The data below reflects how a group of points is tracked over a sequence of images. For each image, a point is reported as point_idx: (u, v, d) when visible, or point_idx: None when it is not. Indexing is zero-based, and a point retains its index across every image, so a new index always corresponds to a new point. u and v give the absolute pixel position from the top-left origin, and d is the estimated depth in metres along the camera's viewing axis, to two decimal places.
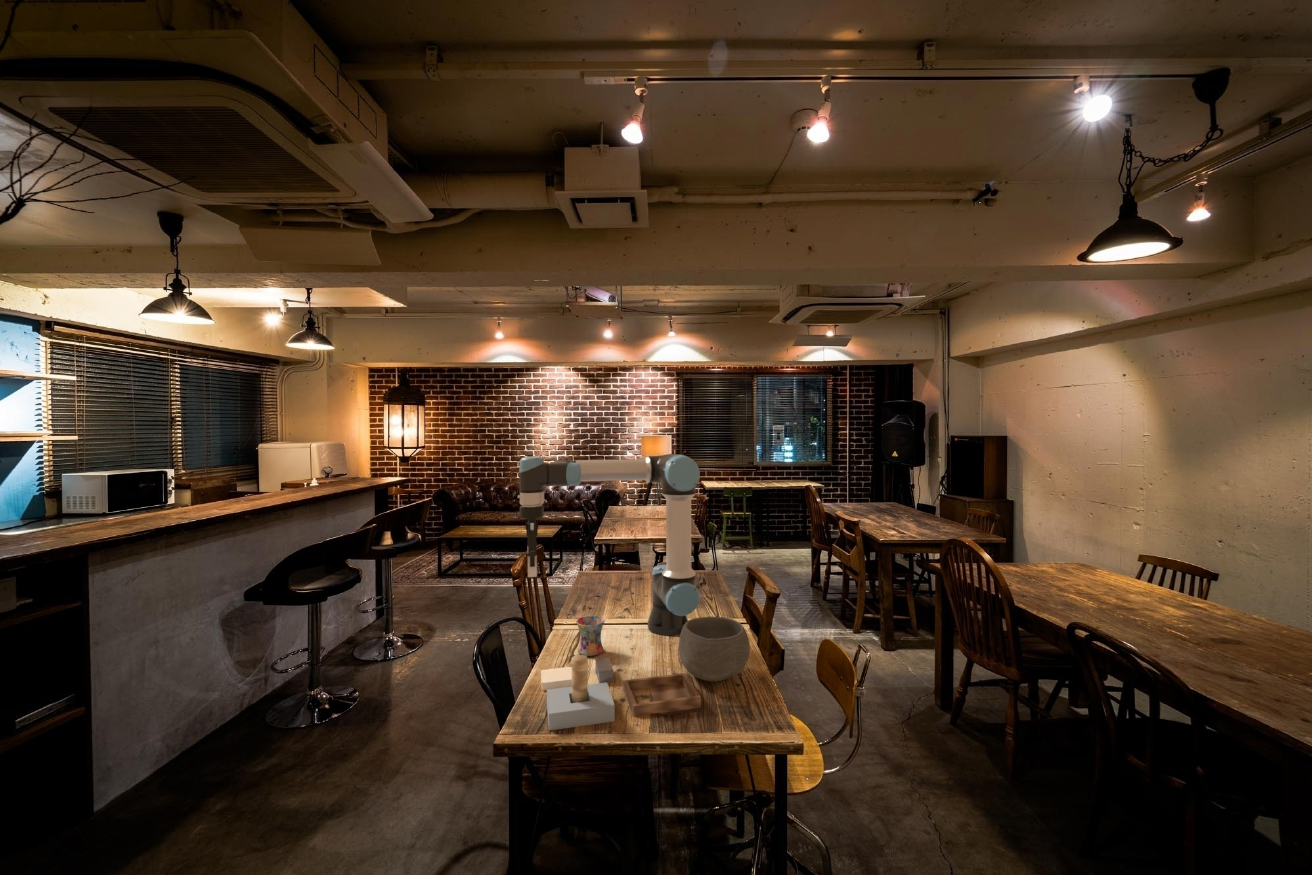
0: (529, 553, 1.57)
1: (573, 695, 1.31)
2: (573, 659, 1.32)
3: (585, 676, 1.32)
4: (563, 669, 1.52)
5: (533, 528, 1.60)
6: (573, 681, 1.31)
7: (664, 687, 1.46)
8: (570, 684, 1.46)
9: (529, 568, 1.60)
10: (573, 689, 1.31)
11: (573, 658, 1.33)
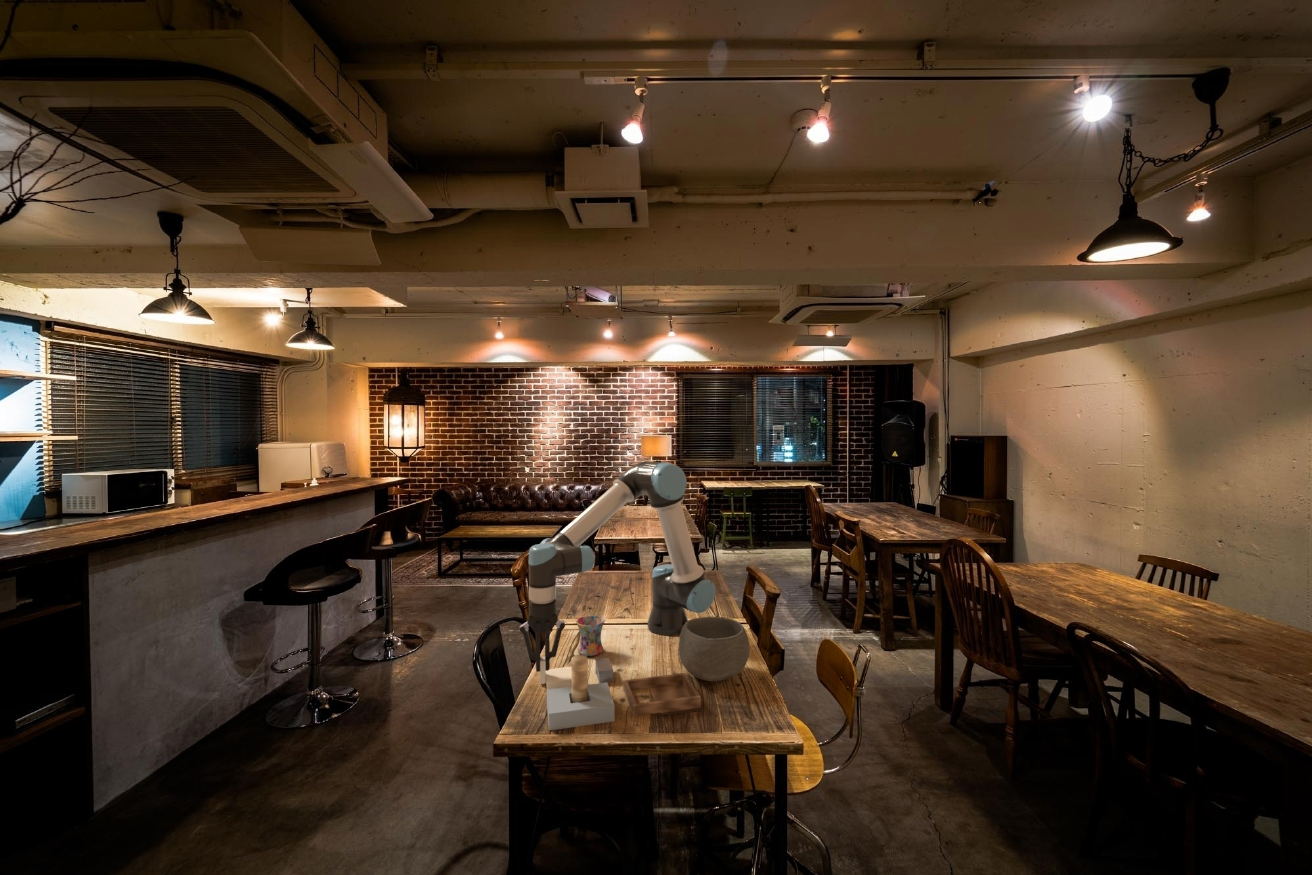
0: None
1: (573, 695, 1.31)
2: (573, 659, 1.32)
3: (585, 676, 1.32)
4: (567, 668, 1.53)
5: None
6: (573, 681, 1.31)
7: (664, 687, 1.46)
8: None
9: None
10: (573, 689, 1.31)
11: (573, 658, 1.33)
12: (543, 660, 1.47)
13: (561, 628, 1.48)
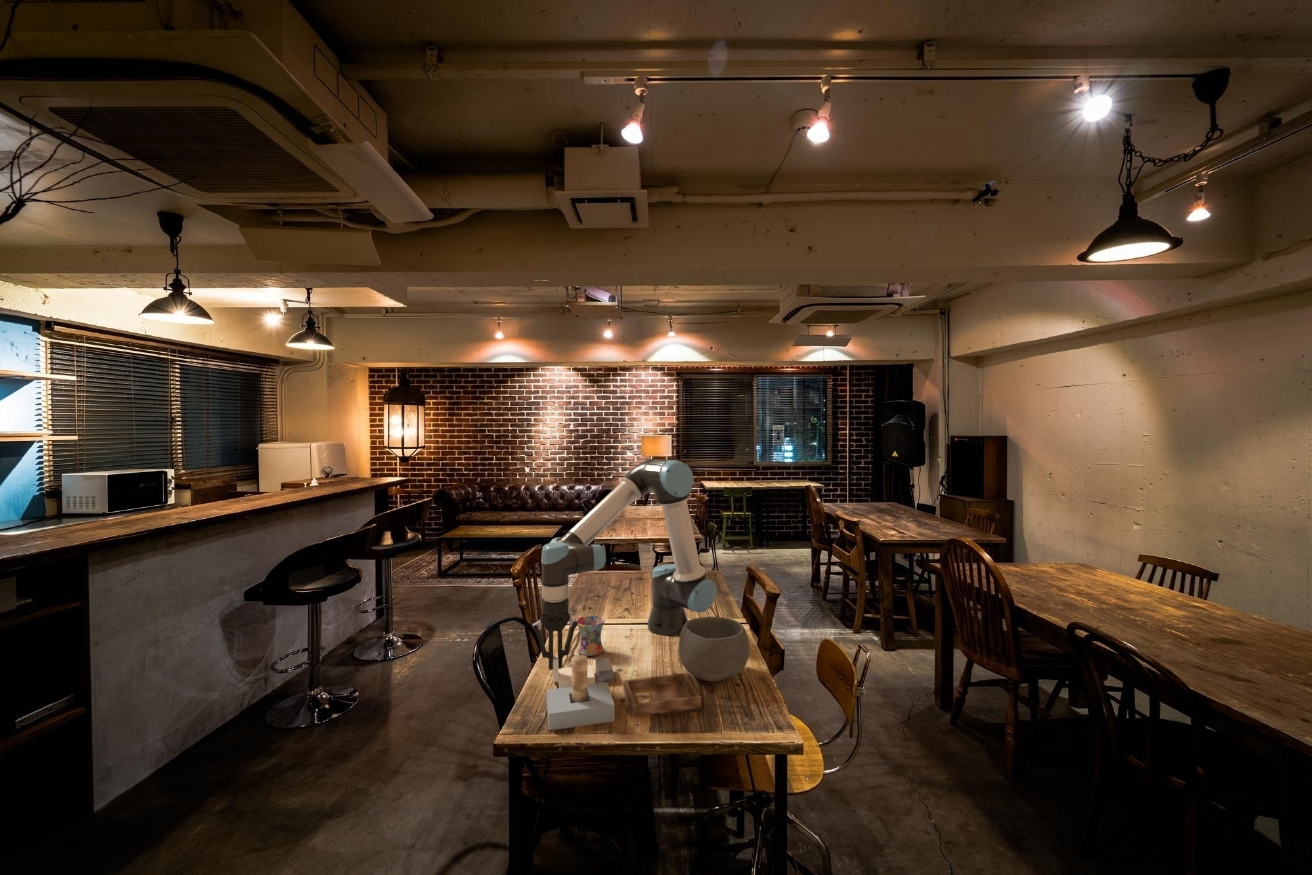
0: None
1: (573, 695, 1.31)
2: (573, 659, 1.32)
3: (585, 676, 1.32)
4: None
5: None
6: (573, 681, 1.31)
7: (664, 687, 1.46)
8: None
9: None
10: (573, 689, 1.31)
11: (573, 658, 1.33)
12: (556, 658, 1.48)
13: (574, 626, 1.49)
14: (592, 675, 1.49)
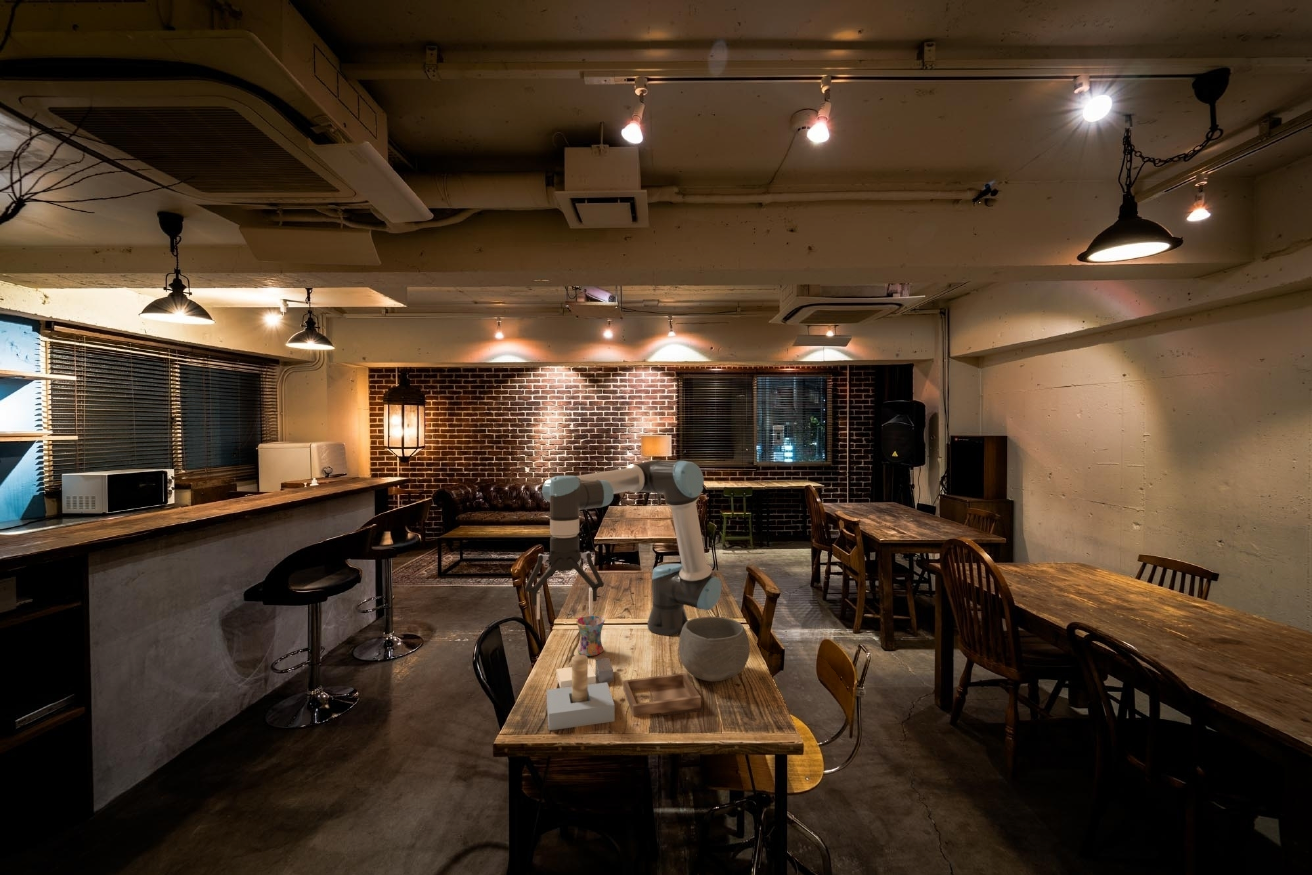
0: (525, 586, 1.35)
1: (573, 695, 1.31)
2: (573, 659, 1.32)
3: (585, 676, 1.32)
4: None
5: None
6: (573, 681, 1.31)
7: (664, 687, 1.46)
8: (588, 682, 1.48)
9: None
10: (574, 689, 1.31)
11: (573, 658, 1.33)
12: (590, 590, 1.37)
13: (589, 558, 1.37)
14: (593, 674, 1.49)
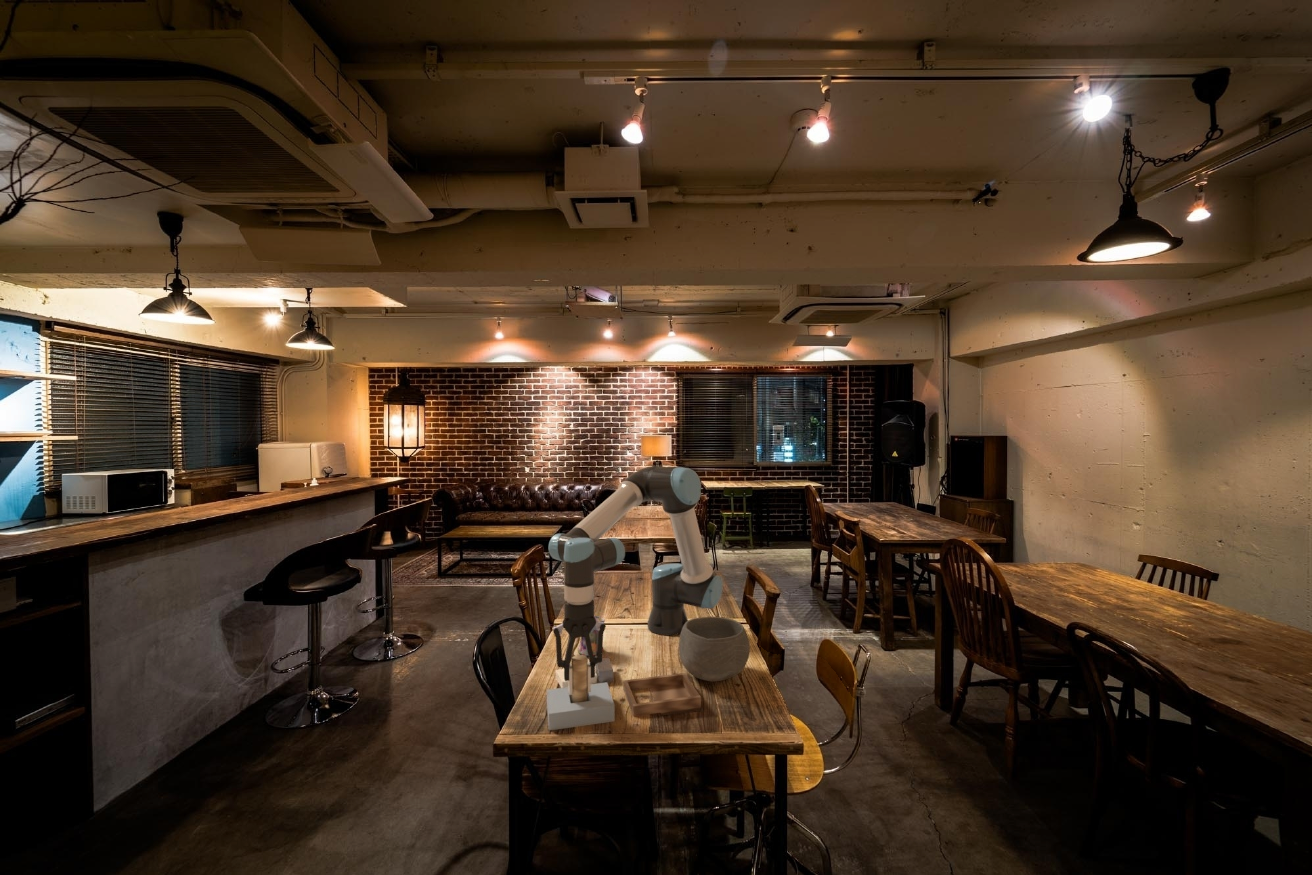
0: None
1: (573, 695, 1.31)
2: (573, 659, 1.32)
3: (585, 676, 1.32)
4: None
5: None
6: (573, 681, 1.31)
7: (664, 687, 1.46)
8: None
9: None
10: (573, 689, 1.31)
11: (573, 658, 1.33)
12: (588, 666, 1.32)
13: (602, 630, 1.33)
14: None
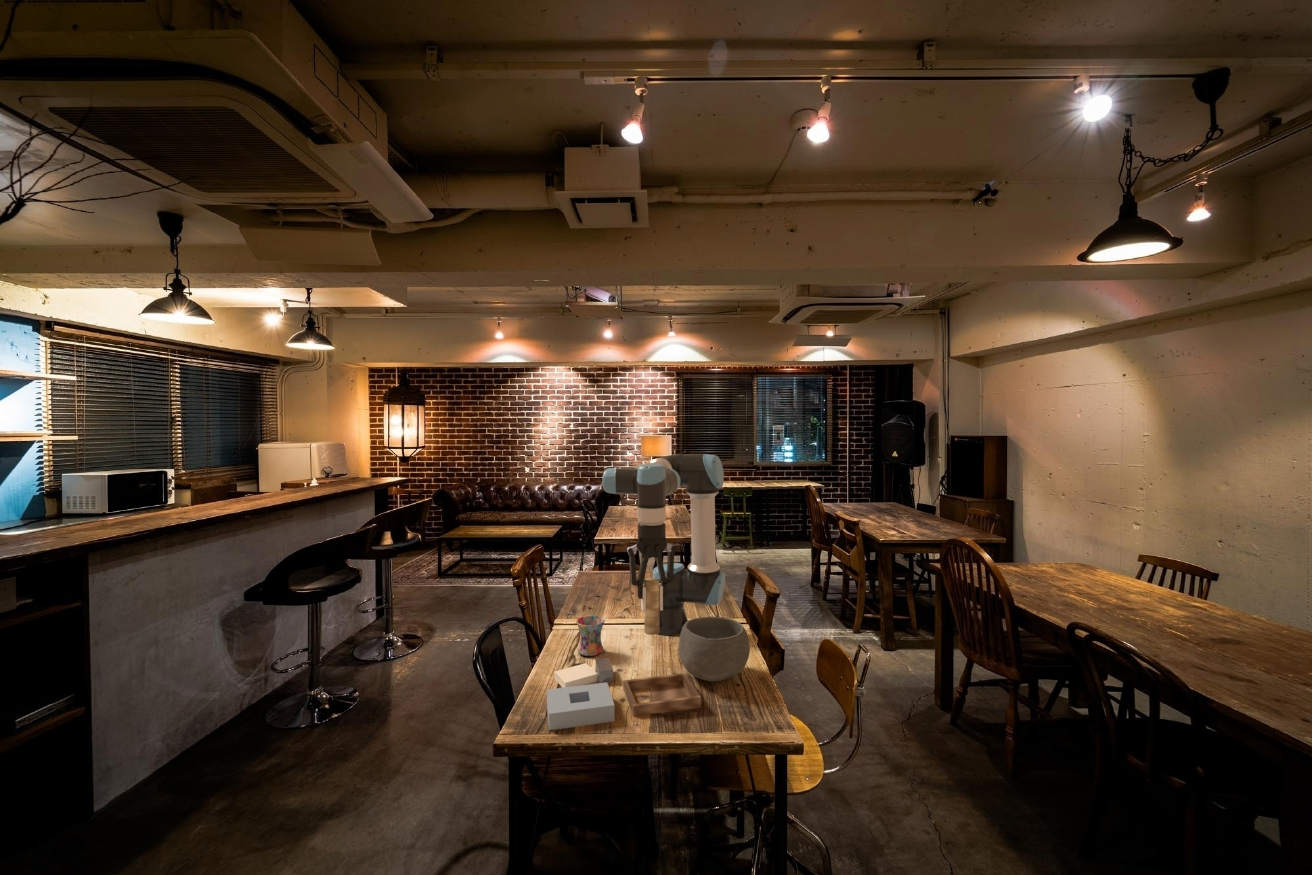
0: None
1: (646, 614, 1.38)
2: (646, 580, 1.38)
3: (657, 596, 1.38)
4: (576, 667, 1.54)
5: (629, 554, 1.37)
6: (646, 601, 1.38)
7: (664, 687, 1.46)
8: (590, 680, 1.49)
9: (641, 599, 1.39)
10: (647, 608, 1.38)
11: (646, 580, 1.39)
12: (660, 585, 1.39)
13: (673, 551, 1.39)
14: (594, 672, 1.50)
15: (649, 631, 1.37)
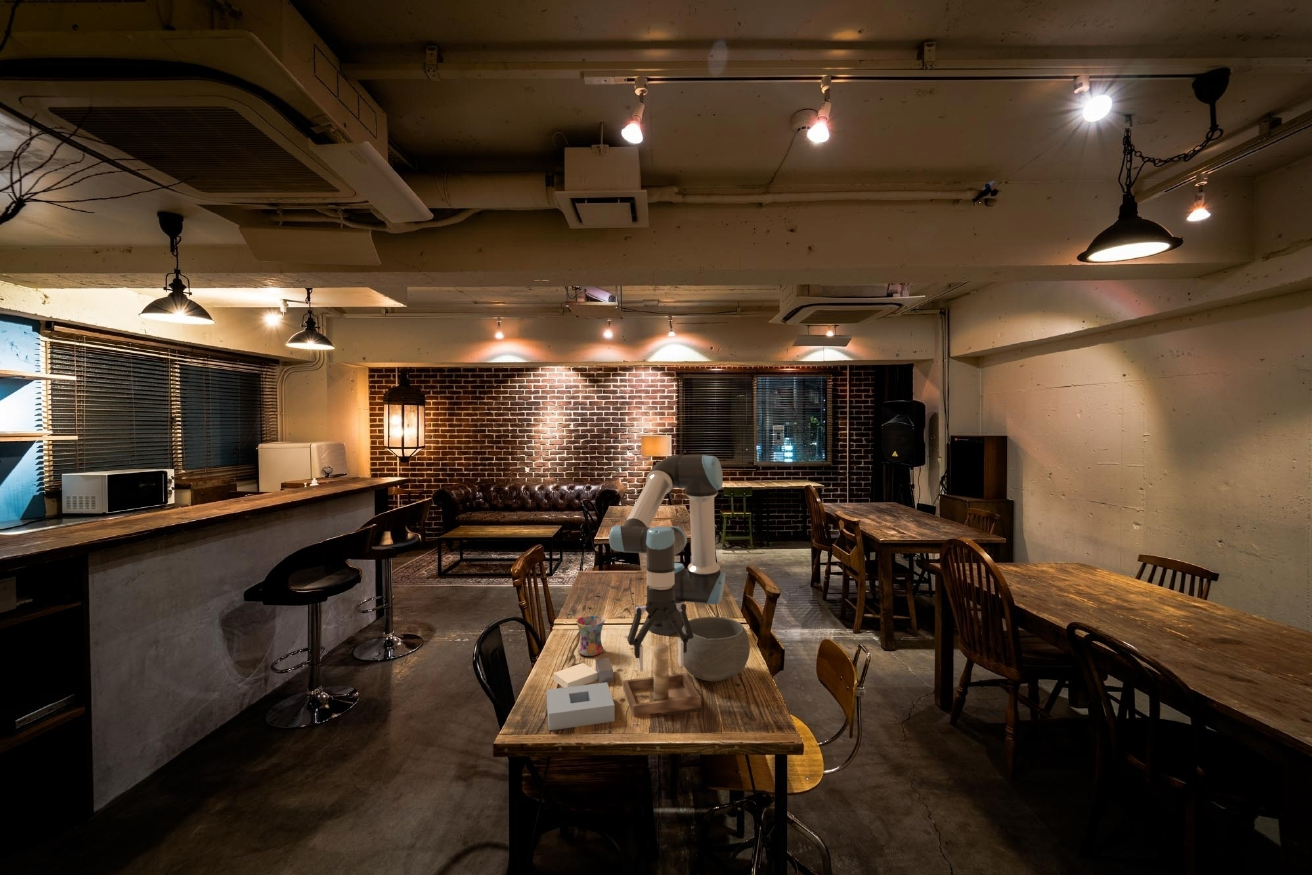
0: (627, 639, 1.39)
1: (656, 682, 1.39)
2: (655, 647, 1.39)
3: (667, 664, 1.39)
4: (575, 667, 1.53)
5: (636, 613, 1.38)
6: (656, 668, 1.39)
7: None
8: (591, 679, 1.49)
9: (638, 658, 1.39)
10: (656, 676, 1.39)
11: (655, 647, 1.40)
12: (680, 642, 1.41)
13: (684, 610, 1.40)
14: (594, 671, 1.51)
15: (658, 699, 1.38)
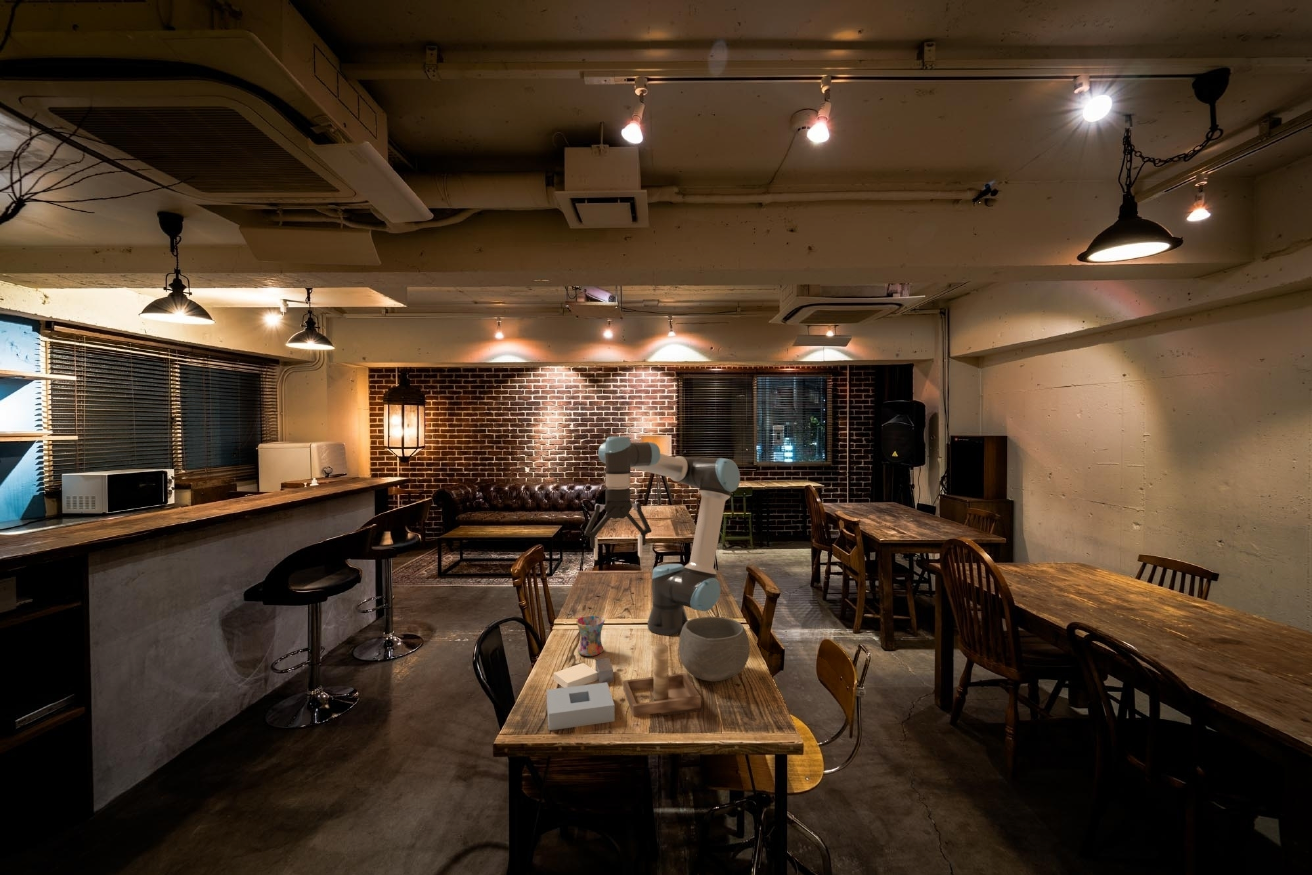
0: (584, 532, 1.55)
1: (655, 682, 1.39)
2: (655, 648, 1.39)
3: (667, 664, 1.39)
4: (575, 667, 1.53)
5: (595, 509, 1.55)
6: (656, 668, 1.39)
7: None
8: (591, 679, 1.49)
9: (594, 549, 1.56)
10: (656, 676, 1.38)
11: (655, 647, 1.40)
12: (640, 535, 1.58)
13: (639, 508, 1.57)
14: (594, 671, 1.51)
15: (658, 699, 1.38)
